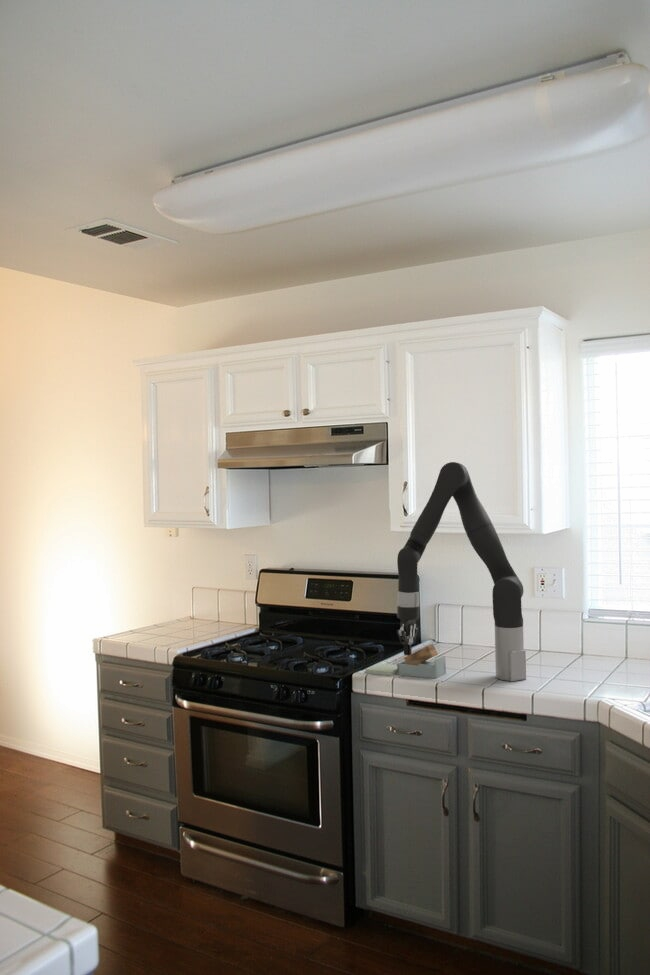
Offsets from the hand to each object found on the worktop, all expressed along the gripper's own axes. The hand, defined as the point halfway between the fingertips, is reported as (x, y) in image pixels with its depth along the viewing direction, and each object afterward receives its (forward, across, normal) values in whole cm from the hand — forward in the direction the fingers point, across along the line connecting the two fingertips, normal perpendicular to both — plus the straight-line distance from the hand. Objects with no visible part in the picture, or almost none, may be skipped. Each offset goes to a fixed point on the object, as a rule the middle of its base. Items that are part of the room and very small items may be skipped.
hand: (407, 654), depth 287 cm
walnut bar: (+2, 0, -6) cm, 6 cm away
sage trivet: (+6, -2, +8) cm, 10 cm away
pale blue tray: (+6, 0, -6) cm, 8 cm away
